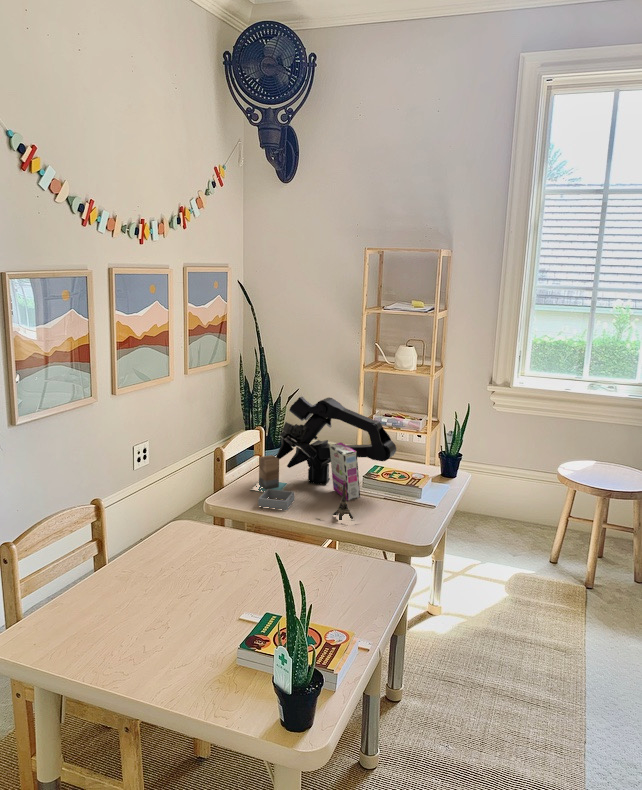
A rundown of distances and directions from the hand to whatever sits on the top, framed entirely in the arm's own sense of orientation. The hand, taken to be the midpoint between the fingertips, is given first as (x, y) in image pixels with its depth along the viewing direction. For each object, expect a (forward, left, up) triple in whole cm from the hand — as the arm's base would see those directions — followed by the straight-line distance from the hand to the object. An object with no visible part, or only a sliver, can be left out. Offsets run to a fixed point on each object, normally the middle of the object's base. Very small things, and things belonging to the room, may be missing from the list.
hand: (282, 463), depth 225 cm
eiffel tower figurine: (-26, +22, -9) cm, 35 cm away
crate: (-3, +17, -8) cm, 19 cm away
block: (+4, +3, -8) cm, 9 cm away
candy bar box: (-23, +2, -8) cm, 25 cm away
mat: (+4, +3, -8) cm, 9 cm away
